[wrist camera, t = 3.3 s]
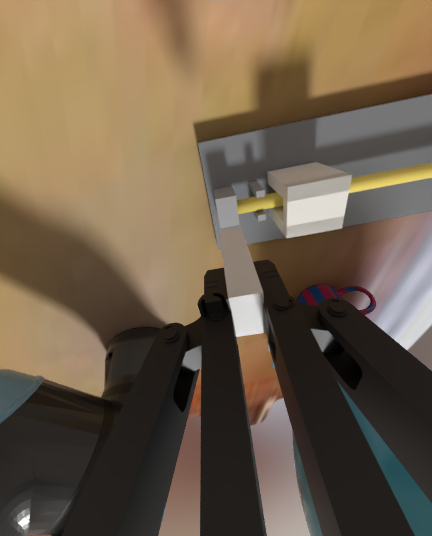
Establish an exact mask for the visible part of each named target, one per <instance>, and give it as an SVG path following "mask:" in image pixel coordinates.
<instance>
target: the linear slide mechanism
mask: <svg viewBox="0 0 432 536" xmlns="http://www.w3.org/2000/svg"><path fill="white" fill-rule="evenodd" d="M198 147H199V152H200V157H201V162H202V167H203V173H204V178H205V183H206V188H207V193H208V198H209V203H210V209H211V214H212V219H213V224H214V229H215V234H216V240H217V245H218V250H220V249H221V242H220V235H219V230H225V229H230V228H236V227H241V229H242V232H243V234H244V237H245V240H246V243H247V245H248V244H253V243H259V242H264V241H270V240H276V239H281V238H286V237H285V236H284V234H283V233H282V232H281V230H280V229H279V228H278V226H277V225H276V224H275V222H274V221H273V219H272V218H271V217H270V215H269V211H268V209H269V208H274V207H279V206H283V198H282V197H281V196H280V195H279V194H278V193H277V192H276V191H275V190H274V189H273V188H272V187H271V186H270V185H269V184H268V176H267V172H268V171H274V170H279V169H284V168H289V167H294V166H299V165H304V164H309V163H314V162H318V163H320V164H323V165H326V166H329V167H332V168H335V169H337V170H340V171H343V172H346V173H349V174H352V178H351V184H350V189H349V194H348V199H347V204H346V209H345V215H344V220H343V225H342V227H347V226H353V225H358V224H364V223H370V222H375V221H381V220H386V219H392V218H397V217H403V216H408V215H414V214H419V213H425V212H430V211H432V93H430V94H425V95H421V96H416V97H411V98H406V99H402V100H397V101H392V102H387V103H382V104H378V105H373V106H368V107H363V108H359V109H354V110H349V111H344V112H339V113H335V114H330V115H325V116H320V117H316V118H311V119H306V120H301V121H296V122H292V123H287V124H282V125H277V126H273V127H268V128H263V129H258V130H253V131H249V132H244V133H239V134H234V135H230V136H225V137H220V138H215V139H210V140H206V141H201V142H198Z"/></svg>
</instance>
